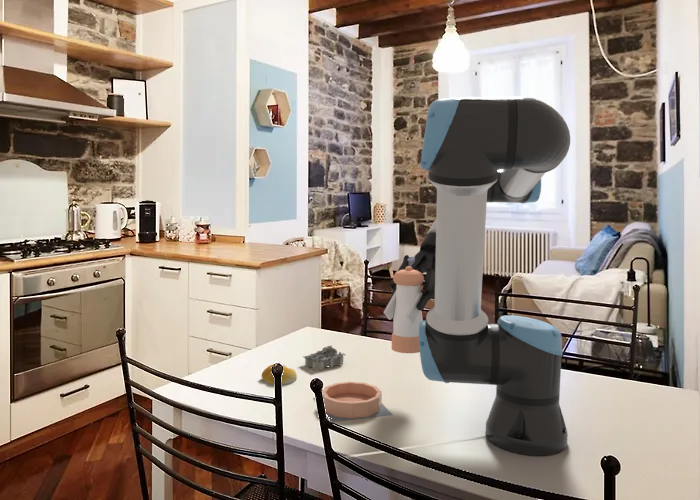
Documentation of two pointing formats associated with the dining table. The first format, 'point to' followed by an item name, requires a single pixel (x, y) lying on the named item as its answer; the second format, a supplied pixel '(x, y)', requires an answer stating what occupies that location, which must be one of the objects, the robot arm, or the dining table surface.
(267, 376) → the bread roll
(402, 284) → the pepper shaker
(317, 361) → the egg carton
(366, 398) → the dish
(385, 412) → the mat
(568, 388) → the dining table surface
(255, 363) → the dining table surface
